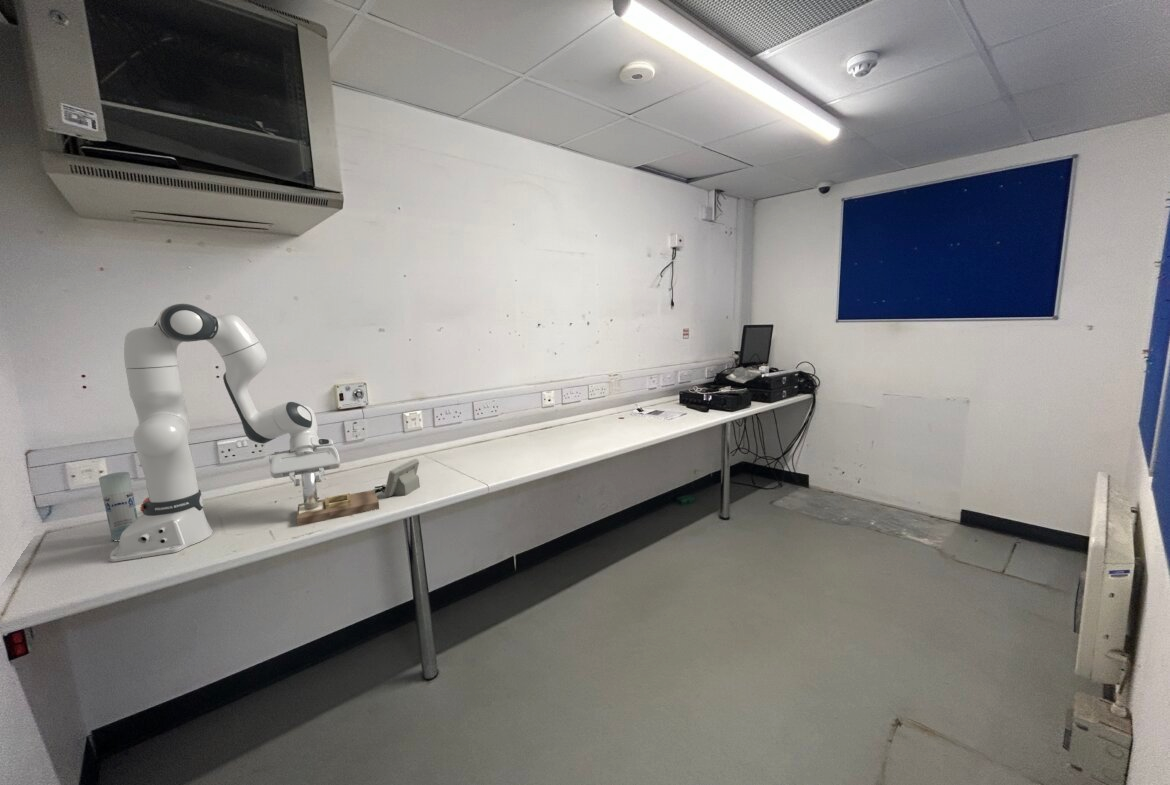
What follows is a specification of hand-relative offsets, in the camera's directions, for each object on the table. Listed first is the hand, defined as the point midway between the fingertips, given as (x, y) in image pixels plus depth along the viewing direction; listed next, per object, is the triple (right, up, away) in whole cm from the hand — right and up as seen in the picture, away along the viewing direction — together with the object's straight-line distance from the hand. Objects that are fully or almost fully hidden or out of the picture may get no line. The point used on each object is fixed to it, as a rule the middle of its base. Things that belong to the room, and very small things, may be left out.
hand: (308, 483), depth 150 cm
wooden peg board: (+7, -10, +6) cm, 14 cm away
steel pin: (0, -8, +2) cm, 9 cm away
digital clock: (+23, -8, +23) cm, 33 cm away
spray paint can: (-51, -15, -9) cm, 54 cm away
